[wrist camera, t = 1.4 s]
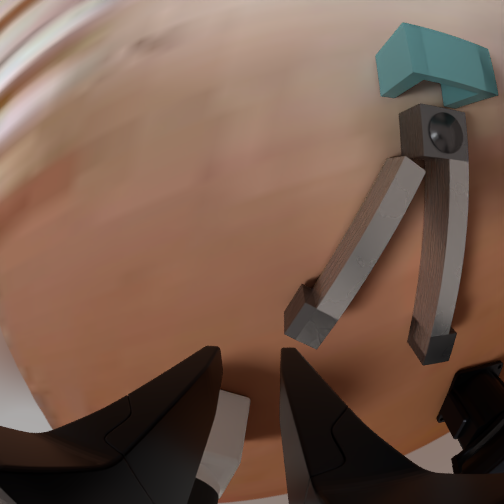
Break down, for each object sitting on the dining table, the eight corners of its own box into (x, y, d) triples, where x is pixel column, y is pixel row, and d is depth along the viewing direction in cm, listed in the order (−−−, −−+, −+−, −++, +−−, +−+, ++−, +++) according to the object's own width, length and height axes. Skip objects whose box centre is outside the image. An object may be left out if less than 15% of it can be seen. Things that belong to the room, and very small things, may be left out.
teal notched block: (375, 55, 15) (402, 22, 10) (448, 70, 14) (488, 49, 9) (380, 96, 15) (413, 71, 10) (454, 108, 15) (498, 95, 10)
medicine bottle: (168, 370, 22) (106, 483, 11) (252, 396, 22) (230, 524, 10) (161, 420, 24) (115, 516, 13) (231, 442, 24) (209, 547, 12)
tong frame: (398, 113, 16) (421, 102, 12) (448, 121, 15) (475, 114, 12) (386, 343, 20) (400, 369, 16) (431, 338, 19) (449, 361, 16)
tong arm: (377, 151, 16) (394, 147, 13) (405, 171, 16) (425, 171, 13) (284, 311, 19) (284, 334, 17) (312, 325, 20) (316, 349, 17)
